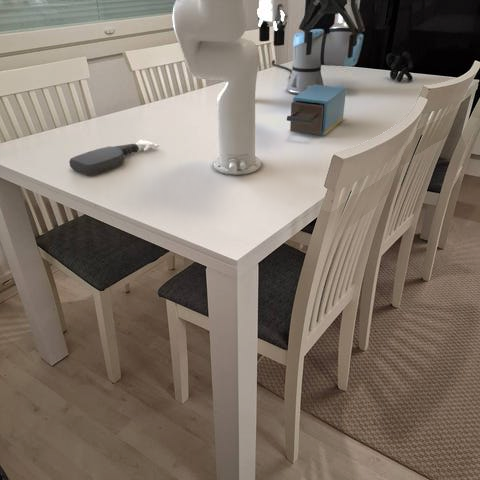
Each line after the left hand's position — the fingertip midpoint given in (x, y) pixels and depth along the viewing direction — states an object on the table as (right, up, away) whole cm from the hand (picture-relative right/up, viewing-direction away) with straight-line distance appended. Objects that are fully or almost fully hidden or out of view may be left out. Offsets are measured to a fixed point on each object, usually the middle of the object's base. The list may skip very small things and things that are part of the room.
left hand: (271, 43), depth 132 cm
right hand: (+19, 0, +9) cm, 21 cm away
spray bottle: (-44, -36, -7) cm, 57 cm away
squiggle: (+63, +14, +68) cm, 94 cm away
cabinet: (+17, -20, +16) cm, 31 cm away
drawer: (+14, -22, +11) cm, 28 cm away
